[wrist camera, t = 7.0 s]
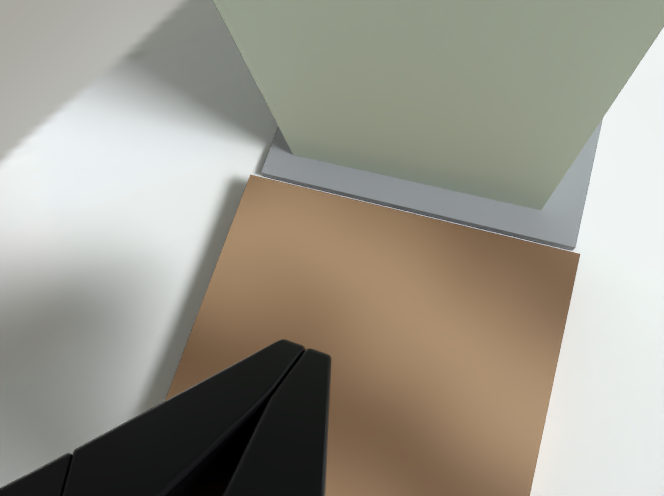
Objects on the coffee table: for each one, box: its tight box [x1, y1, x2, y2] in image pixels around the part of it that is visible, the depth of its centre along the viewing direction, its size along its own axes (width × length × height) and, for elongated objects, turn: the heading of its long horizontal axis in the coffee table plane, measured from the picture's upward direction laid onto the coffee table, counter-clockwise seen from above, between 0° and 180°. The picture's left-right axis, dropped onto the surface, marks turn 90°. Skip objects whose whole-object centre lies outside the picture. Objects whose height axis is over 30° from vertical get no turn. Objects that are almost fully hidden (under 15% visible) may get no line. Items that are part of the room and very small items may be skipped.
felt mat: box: [261, 118, 603, 250], centre depth 17 cm, size 10×10×1 cm
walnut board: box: [165, 175, 580, 496], centre depth 14 cm, size 14×10×1 cm
